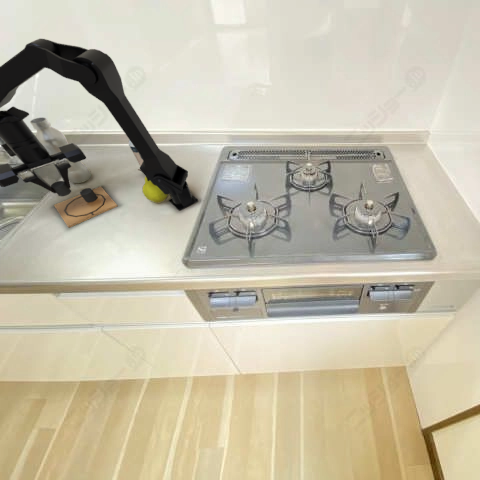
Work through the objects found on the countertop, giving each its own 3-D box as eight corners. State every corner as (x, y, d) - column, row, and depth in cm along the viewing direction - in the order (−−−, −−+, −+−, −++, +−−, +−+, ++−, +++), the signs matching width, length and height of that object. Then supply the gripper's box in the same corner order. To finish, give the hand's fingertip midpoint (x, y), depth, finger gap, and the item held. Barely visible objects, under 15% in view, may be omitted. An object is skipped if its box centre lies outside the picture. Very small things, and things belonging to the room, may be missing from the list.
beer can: (155, 176, 94) (139, 144, 86) (141, 176, 94) (124, 143, 86) (161, 168, 98) (146, 136, 89) (147, 168, 98) (131, 136, 89)
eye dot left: (73, 192, 79) (66, 184, 77) (60, 197, 78) (52, 189, 75) (69, 188, 81) (62, 179, 78) (56, 192, 79) (49, 184, 77)
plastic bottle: (96, 179, 93) (56, 119, 78) (74, 188, 89) (27, 128, 74) (89, 171, 96) (48, 113, 81) (67, 180, 92) (20, 120, 77)
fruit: (166, 190, 90) (150, 157, 81) (177, 199, 87) (161, 166, 78) (145, 200, 86) (126, 166, 77) (155, 210, 83) (136, 176, 74)
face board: (117, 206, 84) (116, 204, 83) (69, 227, 77) (67, 226, 77) (101, 187, 90) (100, 185, 89) (55, 206, 83) (53, 204, 83)
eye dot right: (99, 199, 85) (93, 191, 83) (87, 203, 83) (81, 196, 81) (95, 194, 87) (89, 186, 84) (84, 199, 85) (78, 191, 83)
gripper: (54, 115, 75) (88, 165, 87) (-37, 139, 66) (15, 192, 77) (67, 129, 70) (102, 180, 82) (-30, 157, 61) (25, 210, 72)
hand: (62, 190), depth 78 cm, fingers closed on eye dot left, 3 cm apart
